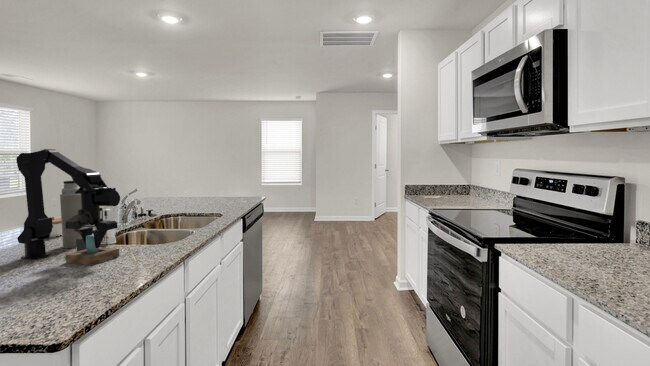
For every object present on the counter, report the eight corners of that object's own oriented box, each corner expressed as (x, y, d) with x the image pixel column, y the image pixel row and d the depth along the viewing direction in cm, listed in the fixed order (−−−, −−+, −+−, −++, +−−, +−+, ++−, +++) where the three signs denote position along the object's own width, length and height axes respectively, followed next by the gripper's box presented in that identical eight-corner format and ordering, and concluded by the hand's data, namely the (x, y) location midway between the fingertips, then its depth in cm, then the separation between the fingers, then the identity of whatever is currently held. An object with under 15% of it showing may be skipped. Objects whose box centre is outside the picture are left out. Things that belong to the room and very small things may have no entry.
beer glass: (103, 245, 163) (101, 211, 162) (96, 243, 167) (94, 209, 166) (120, 242, 169) (118, 209, 168) (112, 240, 173) (111, 207, 172)
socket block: (66, 262, 137) (65, 254, 137) (94, 254, 149) (94, 246, 149) (92, 265, 134) (91, 256, 134) (119, 256, 145) (119, 248, 145)
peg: (84, 254, 140) (83, 236, 139) (93, 251, 144) (92, 234, 143) (92, 254, 139) (91, 237, 138) (101, 252, 142) (100, 234, 142)
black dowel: (74, 254, 149) (73, 239, 149) (83, 251, 153) (82, 237, 152) (82, 255, 148) (81, 239, 148) (91, 252, 152) (90, 237, 151)
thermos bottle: (79, 242, 169) (76, 180, 167) (88, 245, 164) (85, 180, 162) (59, 246, 162) (55, 181, 160) (68, 248, 158) (64, 181, 156)
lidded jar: (34, 238, 179) (33, 218, 179) (54, 233, 190) (53, 215, 189) (54, 238, 177) (53, 219, 177) (73, 234, 188) (71, 215, 187)
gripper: (50, 208, 135) (52, 251, 136) (91, 209, 129) (93, 254, 131) (78, 204, 145) (80, 244, 147) (117, 205, 140) (119, 247, 141)
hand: (92, 247), depth 141 cm, fingers closed on peg, 4 cm apart
